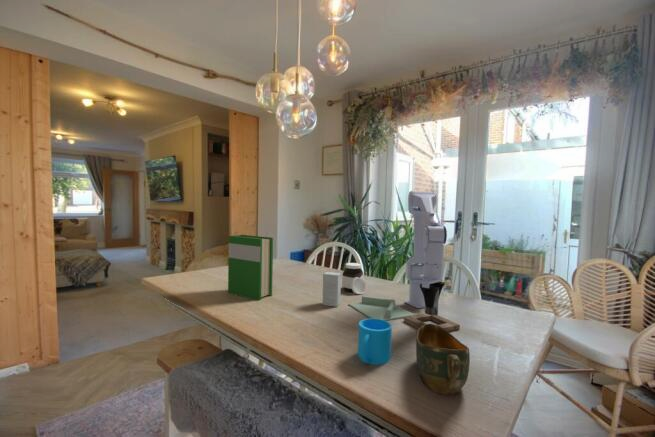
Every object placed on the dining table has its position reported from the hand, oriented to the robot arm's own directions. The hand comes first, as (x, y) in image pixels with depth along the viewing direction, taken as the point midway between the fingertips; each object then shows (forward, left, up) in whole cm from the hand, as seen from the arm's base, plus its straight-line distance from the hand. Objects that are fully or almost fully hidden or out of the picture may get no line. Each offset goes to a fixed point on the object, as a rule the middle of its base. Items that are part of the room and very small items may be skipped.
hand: (431, 305), depth 98 cm
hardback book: (+47, -54, -7) cm, 72 cm away
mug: (+30, +11, -7) cm, 33 cm away
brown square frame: (0, 0, -6) cm, 6 cm away
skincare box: (+21, -30, -7) cm, 37 cm away
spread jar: (+3, -43, -7) cm, 44 cm away
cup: (+21, +24, -7) cm, 32 cm away
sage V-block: (+7, -18, -6) cm, 20 cm away
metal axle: (0, 0, -2) cm, 2 cm away
